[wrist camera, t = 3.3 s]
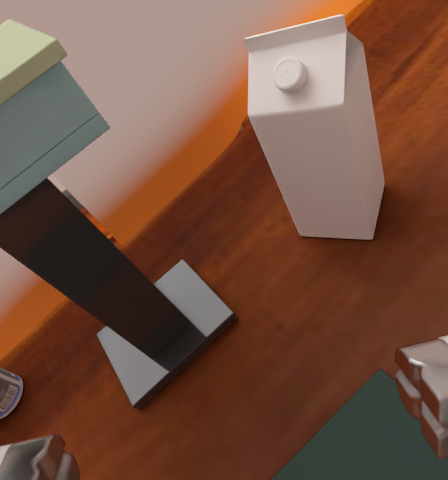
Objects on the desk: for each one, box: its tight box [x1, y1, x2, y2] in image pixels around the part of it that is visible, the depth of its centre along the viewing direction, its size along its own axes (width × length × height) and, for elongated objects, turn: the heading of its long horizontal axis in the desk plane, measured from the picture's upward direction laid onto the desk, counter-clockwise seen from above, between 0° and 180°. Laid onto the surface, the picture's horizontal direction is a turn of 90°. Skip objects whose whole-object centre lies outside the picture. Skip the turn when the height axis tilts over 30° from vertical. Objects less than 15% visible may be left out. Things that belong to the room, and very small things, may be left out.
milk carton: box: [244, 14, 385, 240], centre depth 33 cm, size 7×7×19 cm
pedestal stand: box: [0, 61, 238, 410], centre depth 30 cm, size 14×12×26 cm
